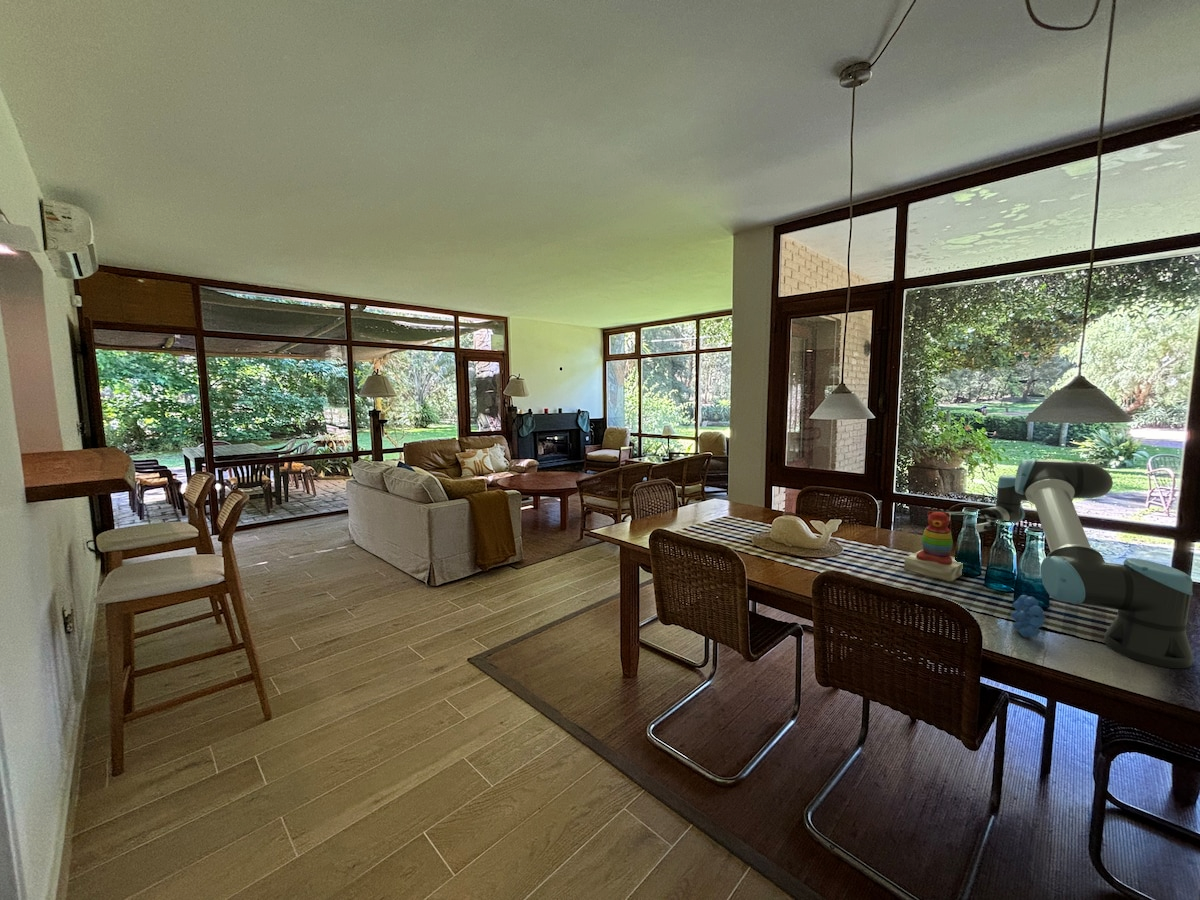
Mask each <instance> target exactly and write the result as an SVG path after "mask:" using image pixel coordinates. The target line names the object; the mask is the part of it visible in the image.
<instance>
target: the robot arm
mask: <svg viewBox="0 0 1200 900" xmlns="http://www.w3.org/2000/svg"><path fill="white" fill-rule="evenodd" d="M998 477H999V478H998V482H997V486H996V487H997V490H996V491H997V492H996V501H995V506H991V507H986V508H982V509H979V510H978V511H977V512H978V518H977V523H975V524H976V525H975V530H976V529H977V532H976V533H981V532H986V531H994V530H995V531H996V532H998V531H997V526H996V522H997V520H1006V521H1011V522H1013V523H1014V524H1016V523H1019V522H1022V521H1023V520H1024V519H1025V517H1026V512H1025V509H1024V508H1023V507H1022V505H1021V504H1022V501H1023V502H1024V501H1025V502H1030V503H1031V504H1033V505H1034V507H1035V509H1036V512H1037V515H1038V518H1039V521H1040V524H1041V527H1042V528H1041V529H1042V530H1043V533H1044V537H1045V540H1046V542H1047V546H1048V549H1049V551H1050V552H1049V553H1048V554H1047V556H1045V557H1044V558H1043V559H1042V562H1041V564H1040V565H1041V566H1040V574H1041V581H1042V585H1043V587H1044V589H1045V591H1046V592H1047V594H1048V595H1049V596H1050V597H1052V598H1053V599H1054V600H1057V601H1060V602H1065V603H1069V604H1073V605H1082V606H1091V607H1096V608H1097V607H1098V608H1105V609H1111V610H1112V609H1113V610H1117V615H1116V617H1115V618H1114V620H1113V621H1112V622H1111V624H1110V625H1109V627H1108V628H1107V629H1106V631H1105V633H1104V640H1103V642H1104V644H1105V645H1106V646H1107V647H1108V648H1110V649H1111V650H1113V651H1115V652H1116V653H1118V654H1120V655H1122V656H1125V657H1128V658H1131V659H1132V660H1136V661H1139V662H1143V663H1146V664H1149V665H1153V666H1158V667H1162V668H1163V667H1164V668H1170V669H1187V668H1190V667H1192V666H1193V661H1194V656H1193V651H1192V648H1191V646H1190V642H1189V639H1188V636H1187V623H1188V618H1189V613H1190V612H1189V611H1190V607H1191V602H1192V596H1193V594H1194V593H1193V579H1192V577H1191V576H1190V575H1189V574H1187V573H1186V572H1184V571H1182V570H1180V569H1177V568H1174V567H1172V566H1169V565H1166V564H1161V563H1160V562H1159V563H1158V562H1155V561H1151V560H1146V559H1140V558H1131V557H1130V558H1125V559H1124V561H1123V562H1122V564H1121V563H1112V562H1111V563H1110V562H1106V561H1105V559H1104V557H1103V554H1101V553H1100V551H1098V550H1096V549H1095V548H1092V547H1091V545H1090V542H1089V539H1088V537H1087V535H1086V532H1085V530H1084V527H1083V525H1082V523H1081V520H1080V517H1079V514H1078V513H1077V510H1076V508H1075V506H1074V502H1073V500H1074V499H1095V498H1099V497H1103V496H1105V495H1107V494H1108V493H1109V492H1110V491H1111V489H1112V488H1113V483H1114V481H1113V477H1112V475H1111V474H1110V473H1109V472H1108V470H1106V469H1104V468H1103V467H1101V466H1099V465H1097V464H1094V463H1091V462H1087V461H1080V460H1079V461H1075V460H1074V461H1072V460H1057V459H1056V460H1055V459H1054V460H1053V459H1040V458H1039V459H1038V458H1034V459H1031V458H1030V459H1023V460H1021V461H1020V463H1019V464H1018V467H1017V470H1016V474H1015V475H1011V474H1003V475H1000V476H998ZM942 512H943V513H949V514H950V517H949V520H950V521H962V522H963V516H964V512H965V511H942Z"/></svg>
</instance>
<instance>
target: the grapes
mask: <svg viewBox="0 0 1200 900" xmlns="http://www.w3.org/2000/svg"><path fill="white" fill-rule="evenodd" d="M1011 605H1012V607H1013V608H1014V609H1015V610H1013V611H1012V612H1011V613H1010V617H1011V618H1012V619H1013V620H1014V621H1015V622H1014V623H1013V627H1014V628H1015V629H1016V630H1017V631H1018V633H1020V635H1021V636H1022V637H1024V638H1030V637H1036V636H1038V635H1039V634H1040V633H1041V630H1040V629H1039V628H1042V627H1043V626H1044V624H1045V620H1046V619H1047V618H1046V616H1045V614H1044V612H1045V611H1044V610H1043V609H1044V608H1042V607H1041V606H1040V605H1039V601H1038V599H1037V598H1036V597H1034V596H1029V595H1027V594H1022V595H1020V596H1019V597H1018V598H1017V600H1015V601H1014V602H1013V603H1012V604H1011Z"/></svg>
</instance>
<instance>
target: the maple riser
mask: <svg viewBox="0 0 1200 900" xmlns="http://www.w3.org/2000/svg"><path fill="white" fill-rule="evenodd" d="M922 550H923V549H921V550H919V551H917V552H913V553H912V554H910V555H907V556H906V557H904V565H903V566H904V567H903V569H904V570H906V571H910V572H914V573H917V574H921V575H924V576H928V577H932V578H935V579H938V578H939V580H942V579H943V580H942V581H945V580H946V582H949V581H951V582H953V581H954V580H956V579H958V578H960V577H961V576H963V575H962V569H963V563H961V562H957V561H956V560H955V556H951V555H950V556H951V558H952V564H950V565H944V564H940V563H937V562H934V561H928V560H921V559H918V558H917V557H916V555H917V553H919V552H920V551H922Z"/></svg>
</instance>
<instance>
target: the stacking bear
mask: <svg viewBox="0 0 1200 900" xmlns="http://www.w3.org/2000/svg"><path fill="white" fill-rule="evenodd" d="M943 512H944V511H942V512H941V511H932V510H929V511H928V513H927V514H928V517H927V523H928V525H927V526H926V527H925V529H924V530H923V534H922V537H921V546H922V549H921V550H922V551H921V550H919V551H920V552H919V553H917V555H916V557H917V558H918V559H921V560H928V561H934V562H937V563H940V564H944V565H950V564H952V558H951V551H952V549H953V548H952V547H953V540H954V539H953V537H952V532H951V529H950V528H949V527H948V526H949V525H950V522H951V520H949V517H950V514H949V513H943Z"/></svg>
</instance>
